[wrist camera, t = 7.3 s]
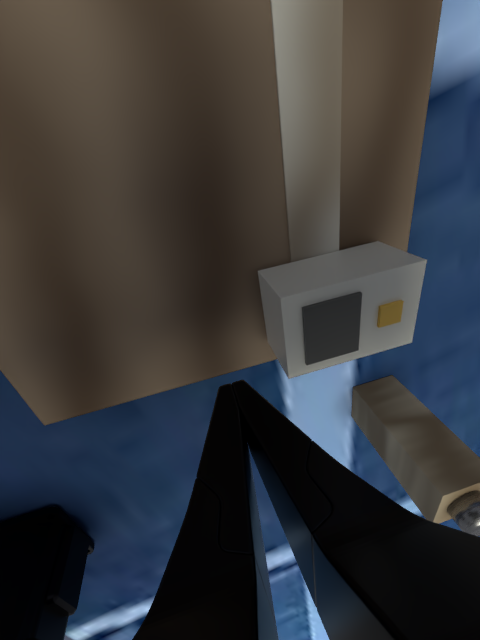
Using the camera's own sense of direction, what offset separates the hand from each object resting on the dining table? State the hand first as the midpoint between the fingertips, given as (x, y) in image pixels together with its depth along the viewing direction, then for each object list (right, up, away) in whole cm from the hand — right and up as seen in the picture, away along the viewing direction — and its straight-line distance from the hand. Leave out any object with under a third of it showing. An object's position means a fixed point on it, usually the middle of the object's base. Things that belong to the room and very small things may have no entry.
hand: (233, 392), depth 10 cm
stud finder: (+4, +4, +5) cm, 7 cm away
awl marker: (+10, -3, +12) cm, 17 cm away
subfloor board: (-2, +7, +3) cm, 8 cm away
